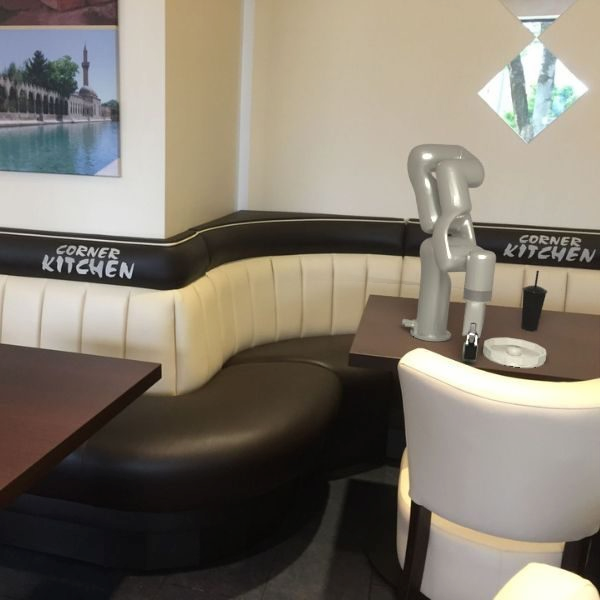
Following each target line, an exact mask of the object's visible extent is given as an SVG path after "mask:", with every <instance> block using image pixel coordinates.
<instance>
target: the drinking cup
mask: <svg viewBox="0 0 600 600" xmlns="http://www.w3.org/2000/svg"><path fill="white" fill-rule="evenodd" d="M539 272H540V271H539V270H536V274H535V280H534V285H527V286H523V287H522V312H521V329H522V330H524V329H525V330H524V331H527V330H529V331H528V332H535V330H536V331H537V330H538V326H539V324H540V318H541V315H542V311H543V307H544V303H545V298H546V296H547V293H548V290H547V289H545V288H544V287H542V286H538V285H537V284H538V279H539Z"/></svg>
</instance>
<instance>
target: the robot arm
mask: <svg viewBox="0 0 600 600" xmlns="http://www.w3.org/2000/svg"><path fill="white" fill-rule="evenodd" d="M406 167H407V168H406V169H407V174H408V175H407V176H408V179H409V181H410V184H411V187H412V189H413V192H414V196H415V200H416V201H415V202H416V207H417V208H416V209H417V215H418V218H419V224H420V228H421V230H422V231H423V232H424V233H426V234H431V235H432V236H431V237H428V238H426V239H425V240H424V241H422V242H421V244H420V247H419V248H420V249H419V257H420V258H419V259H420V279H419V280H420V281H419V282H420V283H419V293H418V302H417V311H416V319H412V320H411V319H407V318H403V319H402V323H401V324H402V326H404V327H405V328H411V329H410V333H409V334H410V335H411V336H412V337H413V336H414V338H415V339H418V340H421V341H426V342H435V343H436V342H437V343H438V342H445V341H448V340H450V339H451V338H452V334H451V332H450V331H449V330H448V329H447V328H448V321H449V320H448V318H449V310H450V301H451V294H452V292H451V291H452V278H451V275H450V274H449V273H465V276H464V285H463V295H462V300H463V301H465V308H464V317H463V324H462V325H463V327H462V333H461V336H463V337H465V336H466V344H465V352H464V359H469V360H476V361H477V358H476V354H477V355H478V350H477V346H476V345H477V343H478V344H479V341H480V338H481V334H482V330H483V327H484V321H485V315H486V308H487V304H490V303H492V297H493V287H494V279H495V270H496V262H497V256H496V254H495V252H494V251H490V250H488V249H487V250H486V249H484V248H482V247H480V246H478V245H477V240H476V235H475V234H476V233H475V230H474V224H473V220H472V214H471V212H472V209H473V205H472V200H471V194H470V190H469V189H476V188H479V187H481V186H482V184H483V182H484V181H485V177H486V175H485V168H484V166H483V163H482V162H481V161H480V159H479V158H478V157H476V155H474V154H473V153H472V152H471V151H469V150H468V149H467V148H465V147H464V146H461V145H459V144H458V145H457V144H440V143H424V144H419V145H416V146H414V147H413V148H412V149H410V152H409V153H408V156H407V163H406ZM432 173H435V176H434V175H433V174H432ZM449 234H450V236H449Z"/></svg>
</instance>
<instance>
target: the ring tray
mask: <svg viewBox="0 0 600 600" xmlns="http://www.w3.org/2000/svg"><path fill="white" fill-rule="evenodd" d="M483 342H484V343H483V347H482V348H483V349H482V355H483V357H485V359H487V360H489V361H491V362H492V363H495V364H498V365H502V366H504V365H506V366H505V367H509V366H513V367H512V368H515V367H520V368H519V369H535V368H534V367H536V368H540V367H542V366H544V364H545V362H546V359H547V350H546V348H544V347H543V346H541V345H539V344H538V343H535V342H532V341H528V340H525V339H522V338H521V339H520V338H512V337H507V336H506V337H491V338H488V339H486V340H484V341H483Z"/></svg>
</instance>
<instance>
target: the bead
mask: <svg viewBox="0 0 600 600" xmlns="http://www.w3.org/2000/svg"><path fill="white" fill-rule="evenodd" d="M466 341H467V340H466ZM466 341H463V345H462V353H461V360H462V361H463V362H466V363H469V364H470V363H476V362H477V356H478V353H477V354H476V360H469V359H464V352H465V344H466ZM476 346H477V351H478V350H479V349H478V348H479V342H478V343H477V345H476Z"/></svg>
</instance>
